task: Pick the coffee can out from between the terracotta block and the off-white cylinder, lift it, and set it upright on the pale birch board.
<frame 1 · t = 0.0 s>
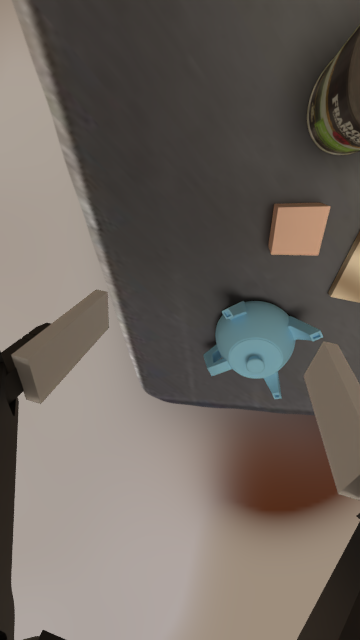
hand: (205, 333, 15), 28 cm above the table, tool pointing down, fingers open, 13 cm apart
teapot: (254, 328, 46), on the table
coffee can: (355, 101, 28), on the table
terracotta block: (292, 225, 35), on the table
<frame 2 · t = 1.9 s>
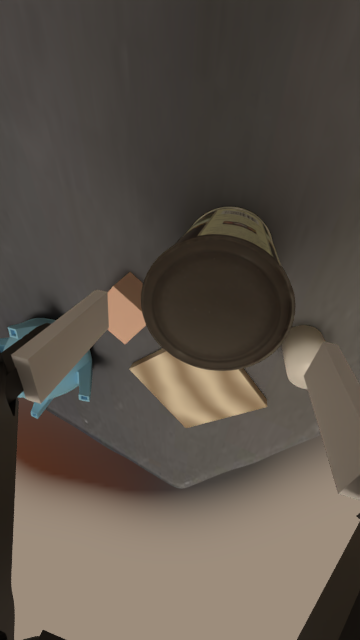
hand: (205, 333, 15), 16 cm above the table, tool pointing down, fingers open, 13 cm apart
teapot: (63, 346, 43), on the table
off-white cylinder: (301, 341, 31), on the table
birch board: (197, 380, 39), on the table
coffee can: (226, 254, 28), on the table
terracotta block: (134, 299, 34), on the table
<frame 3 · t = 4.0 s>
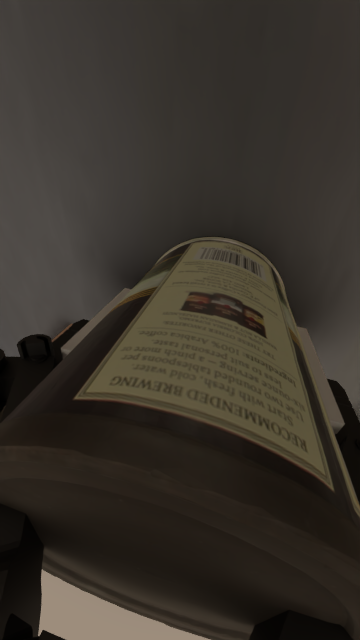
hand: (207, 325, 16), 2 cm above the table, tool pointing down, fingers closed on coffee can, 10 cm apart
coffee can: (212, 307, 18), on the table, touching gripper
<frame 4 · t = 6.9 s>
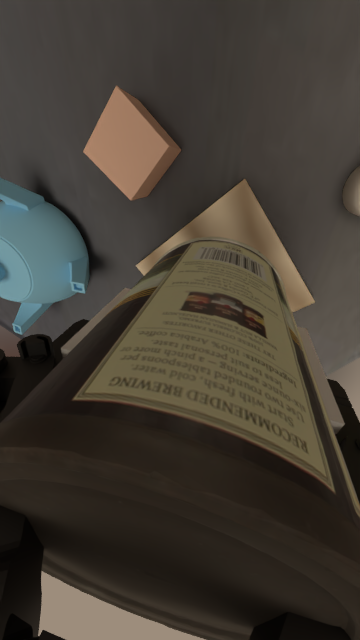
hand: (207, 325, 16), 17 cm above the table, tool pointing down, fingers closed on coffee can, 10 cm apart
teapot: (54, 248, 35), on the table
birch board: (221, 278, 31), on the table
coffee can: (212, 307, 18), point 14 cm above the table, touching gripper
terracotta block: (143, 152, 26), on the table
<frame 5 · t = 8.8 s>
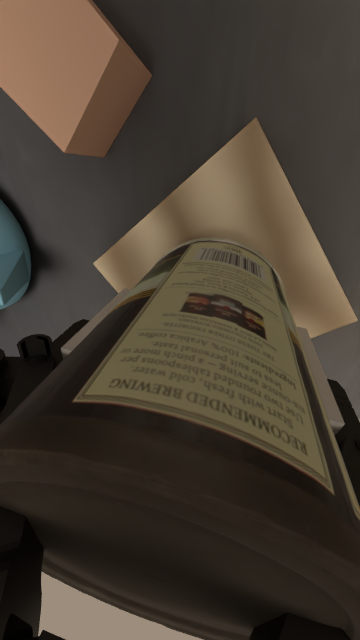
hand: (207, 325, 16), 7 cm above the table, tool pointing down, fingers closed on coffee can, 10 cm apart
birch board: (217, 283, 21), on the table
coffee can: (211, 308, 18), point 5 cm above the table, touching gripper
terracotta block: (93, 82, 16), on the table
when the fingers open (6 cm above the table, at t = 10.1 s): coffee can drops 2 cm, resting on birch board.
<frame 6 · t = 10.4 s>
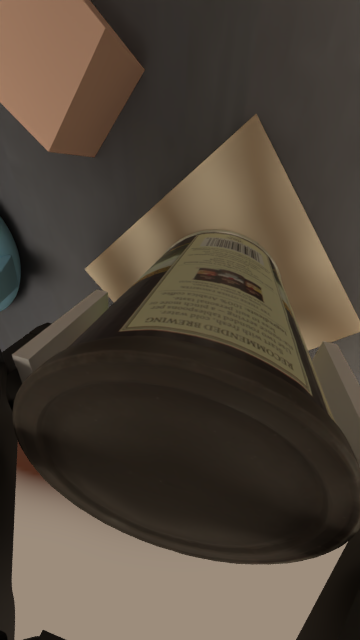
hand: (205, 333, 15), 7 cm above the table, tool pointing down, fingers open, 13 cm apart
birch board: (215, 289, 20), on the table
coffee can: (214, 296, 19), point 1 cm above the table, touching birch board
terracotta block: (82, 77, 15), on the table
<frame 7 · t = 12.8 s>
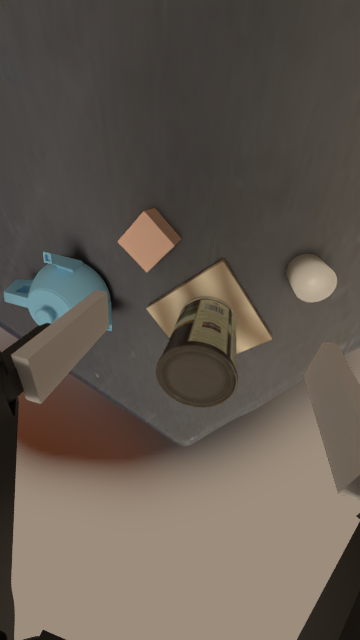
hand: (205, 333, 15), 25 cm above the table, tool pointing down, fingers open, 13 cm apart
teapot: (83, 291, 46), on the table
off-white cylinder: (303, 270, 36), on the table
birch board: (208, 319, 43), on the table
coffee can: (207, 322, 42), point 1 cm above the table, touching birch board
terracotta block: (155, 237, 38), on the table
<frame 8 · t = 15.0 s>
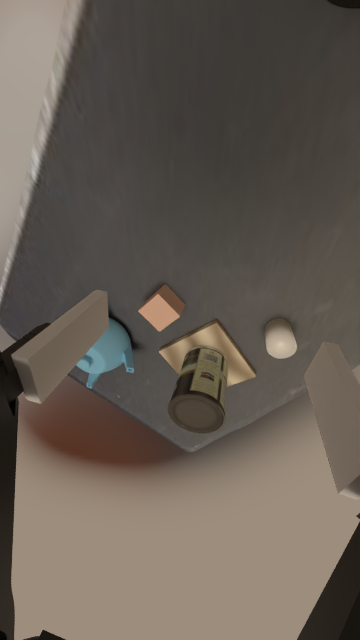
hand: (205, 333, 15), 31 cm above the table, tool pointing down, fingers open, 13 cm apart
teapot: (108, 336, 59), on the table
off-white cylinder: (277, 329, 47), on the table
birch board: (207, 359, 55), on the table
coffee can: (206, 363, 54), point 1 cm above the table, touching birch board
terracotta block: (165, 302, 50), on the table
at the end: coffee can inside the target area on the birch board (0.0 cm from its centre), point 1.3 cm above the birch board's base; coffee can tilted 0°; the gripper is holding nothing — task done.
